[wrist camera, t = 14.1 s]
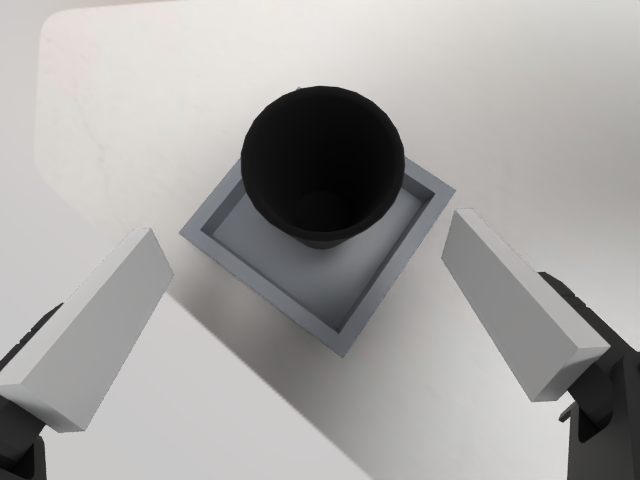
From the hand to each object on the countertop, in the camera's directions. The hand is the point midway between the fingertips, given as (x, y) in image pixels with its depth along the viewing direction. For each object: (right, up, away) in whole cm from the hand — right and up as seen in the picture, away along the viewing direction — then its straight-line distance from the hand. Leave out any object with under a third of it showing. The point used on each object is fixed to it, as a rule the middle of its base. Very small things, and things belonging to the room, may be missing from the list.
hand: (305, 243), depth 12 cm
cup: (+1, +2, +12) cm, 12 cm away
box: (+1, +2, +13) cm, 13 cm away
